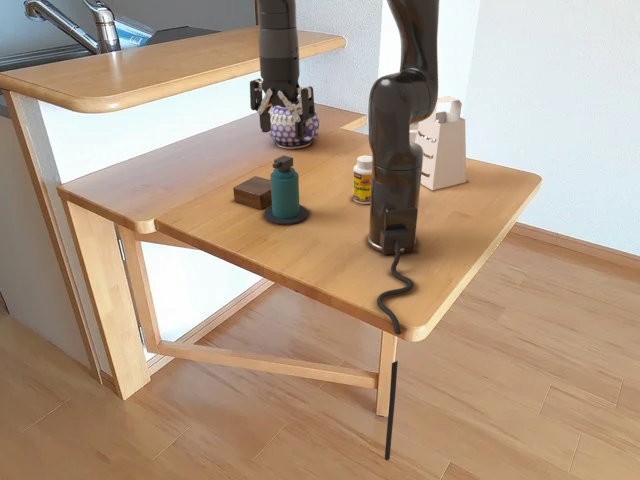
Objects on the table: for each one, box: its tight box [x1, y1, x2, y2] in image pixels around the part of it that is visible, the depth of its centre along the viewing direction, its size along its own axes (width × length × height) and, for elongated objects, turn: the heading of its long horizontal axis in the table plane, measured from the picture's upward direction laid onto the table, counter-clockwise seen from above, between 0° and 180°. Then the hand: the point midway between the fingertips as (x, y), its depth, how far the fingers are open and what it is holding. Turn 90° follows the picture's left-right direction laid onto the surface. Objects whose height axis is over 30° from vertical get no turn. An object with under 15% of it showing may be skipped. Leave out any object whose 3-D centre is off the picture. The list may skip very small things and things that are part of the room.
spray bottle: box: [269, 155, 300, 219], centre depth 113 cm, size 12×6×13 cm
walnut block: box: [232, 175, 272, 210], centre depth 122 cm, size 8×8×4 cm
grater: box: [415, 95, 467, 191], centre depth 128 cm, size 10×10×20 cm
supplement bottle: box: [352, 155, 372, 205], centre depth 120 cm, size 6×6×10 cm
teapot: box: [268, 97, 320, 150], centre depth 153 cm, size 25×15×15 cm, turn 31°
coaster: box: [263, 204, 309, 226], centre depth 116 cm, size 10×10×1 cm
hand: (283, 135), depth 107 cm, fingers open, 8 cm apart
